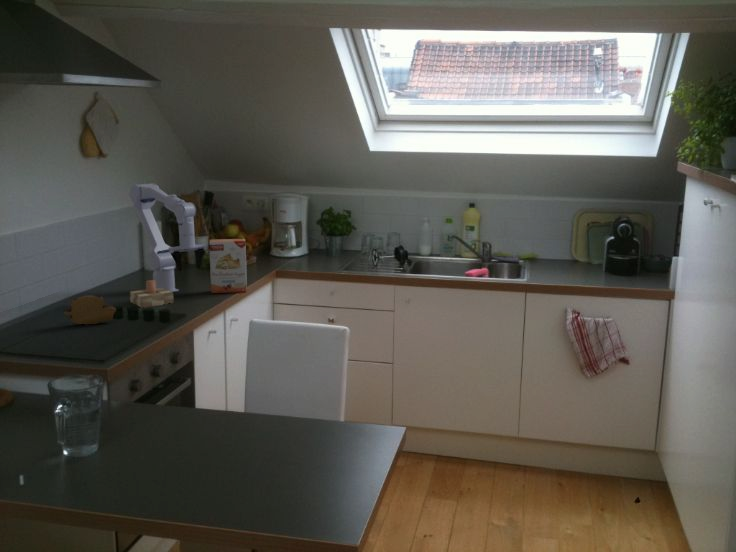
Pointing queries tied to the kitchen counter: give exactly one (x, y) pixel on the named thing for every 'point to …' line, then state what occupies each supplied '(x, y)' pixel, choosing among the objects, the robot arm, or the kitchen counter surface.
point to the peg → (151, 286)
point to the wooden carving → (90, 310)
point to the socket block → (151, 297)
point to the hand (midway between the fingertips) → (189, 269)
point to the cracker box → (228, 265)
